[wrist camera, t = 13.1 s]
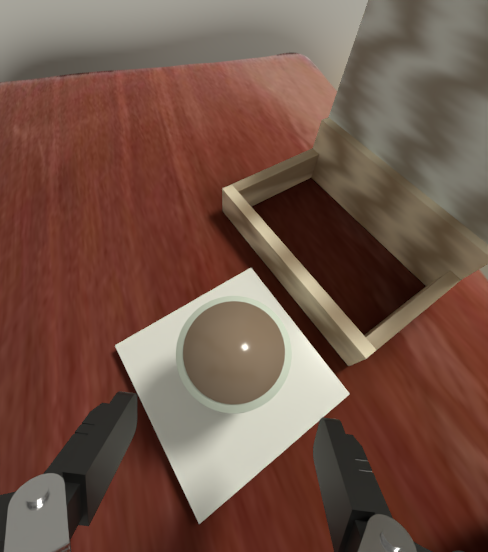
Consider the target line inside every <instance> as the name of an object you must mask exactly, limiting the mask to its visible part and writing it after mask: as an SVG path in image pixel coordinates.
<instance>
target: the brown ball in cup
mask: <svg viewBox="0 0 488 552" xmlns="http://www.w3.org/2000/svg"><path fill="white" fill-rule="evenodd" d="M291 359H292V350H291V343H290V338H289V335H288V332H287V330H286V328H285V326H284V324H283V323H282V321H281V320H280V318H279V317H278V316H277V315H276V314H275V313H274V312H273V311H272V310H271V309H270V308H269V307H267V306H266V305H264V304H263V303H261V302H259V301H257V300H254V299H251V298H248V297H242V296H225V297H220V298H217V299H214V300H211V301H209V302H207V303H205V304H204V305H202V306H201V307H199V308H198V309H197V310H196V311H195V312H193V314H192V315H191V316H190V317H189V318H188V319H187V321H186V322H185V324H184V326H183V328H182V329H181V332H180V334H179V337H178V341H177V346H176V363H177V369H178V372H179V376H180V378H181V380H182V382H183V384H184V386H185V387H186V389H187V390H188V391H189V393H190V394H191V395H192V396H193V397H194V398H195V399H196V400H198V401H199V402H200V403H202V404H203V405H205V406H206V407H208V408H210V409H212V410H215V411H218V412H222V413H228V414H238V413H244V412H248V411H251V410H254V409H256V408H258V407H261V406H262V405H264V404H265V403H267V402H268V401H270V400H271V399H272V398H273V397H274V396H275V395H276V394H277V393H278V392H279V390H280V389H281V388H282V386H283V384H284V383H285V381H286V378H287V376H288V373H289V370H290V366H291Z"/></svg>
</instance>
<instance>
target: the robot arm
mask: <svg viewBox="0 0 488 552" xmlns="http://www.w3.org/2000/svg"><path fill="white" fill-rule="evenodd" d="M136 426H137V394H136V393H128V392H120V391H119V392H117V393H116V395H115V396H114V398H113V399H112V401H111V402H110V403H109V404H107V403H102V404H100V405H99V406H97V407H96V408H95V409H93V410H92V411H91V412H90V413H89V414H88V416H87V417H86V418H85V420H84V421H83V422H82V425H80V426H79V427H78V429H77V430H76V431H75V434H73V435H72V437H71V438H70V439H69V441H68V442H67V443H66V445H65V446H64V447H63V449H62V450H61V451H60V453H59V454H58V455H57V457H56V458H55V459H54V461H53V462H52V463H51V465H50V466H49V467H48V469H47V470H46V471H45V472H44V474H42V475H39V476H37V477H35V478H33V479H31V480H29V481H28V482H26V483H25V484H24V485H22V486H21V487H20V488H19V489H18V490H17V491H16V492H12V493H8V494H3V495H0V552H71V543H70V539H71V537H72V535H73V534H74V532H75V530H76V528H77V526H78V525H84V526H89V525H90V523H91V521H92V519H93V517H94V515H95V513H96V511H97V509H98V507H99V505H100V503H101V501H102V499H103V497H104V495H105V493H106V491H107V489H108V487H109V485H110V483H111V481H112V479H113V477H114V475H115V473H116V471H117V469H118V466H119V464H120V462H121V460H122V458H123V456H124V454H125V452H126V450H127V448H128V446H129V444H130V442H131V440H132V438H133V436H134V433H135V430H136ZM313 458H314V464H315V468H316V473H317V477H318V481H319V486H320V490H321V495H322V499H323V504H324V508H325V513H326V517H327V522H328V526H329V531H330V535H331V540H332V544H333V548H334V552H432V551H430V550H428V549H426V548H424V547H422V546H420V545H418V544H417V543H415V542H414V541H413V540H412V538H411V537H410V535H409V534H408V532H407V531H406V530H405V529H404V528H403V527H402V526H401V525H400V524H399V523H398V522H397V521H395V520H394V519H393V518H392V516H391V513H390V511H389V509H388V506H387V504H386V502H385V499H384V497H383V495H382V492H381V490H380V488H379V485H378V483H377V481H376V478H375V476H374V474H373V473H372V469H371V467H370V464H369V462H368V461H367V457H366V455H365V453H364V450H363V448H362V446H361V445H360V444H359V442H358V441H357V440H356V439H355V438H354V436H353V435H349V434H345V431H344V429H343V426H342V424H341V421H340V420H338V419H330V418H321V419H320V421H319V425H318V429H317V433H316V437H315V441H314V446H313ZM453 552H463V551H453Z"/></svg>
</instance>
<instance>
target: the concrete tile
mask: <svg viewBox="0 0 488 552" xmlns="http://www.w3.org/2000/svg"><path fill="white" fill-rule="evenodd" d="M225 296H242V297H248V298H251V299H254V300H257V301H259V302H261V303H263V304H264V305H266V306H267V307H269V308H270V309H271V310H272V311H273V312H274V313H275V314H276V315H277V316H278V317H279V318H280V320H281V321H282V323H283V324H284V326H285V328H286V330H287V332H288V335H289V338H290V343H291V350H292V359H291V366H290V370H289V373H288V376H287V378H286V381H285V383H284V384H283V386H282V388H281V389H280V390H279V392H278V393H277V394H276V395H275V396H274V397H273V398H272V399H271V400H270V401H268V402H267V403H265V404H264V405H262V406H261V407H258V408H256V409H254V410H251V411H248V412H244V413H238V414H228V413H222V412H218V411H215V410H212V409H210V408H208V407H206V406H205V405H203V404H202V403H200V402H199V401H198V400H196V399H195V398H194V397H193V396H192V395H191V394H190V393H189V391H188V390H187V389H186V387H185V386H184V384H183V382H182V380H181V378H180V376H179V372H178V369H177V363H176V346H177V341H178V337H179V334H180V332H181V329H182V328H183V326H184V324H185V322H186V321H187V319H188V318H189V317H190V316H191V315H192V314H193V312H195V311H196V310H197V309H198V308H199V307H201V306H202V305H204V304H205V303H207V302H209V301H211V300H214V299H217V298H220V297H225ZM115 347H116V349H117V351H118V353H119V355H120V358H121V360H122V362H123V364H124V366H125V368H126V370H127V372H128V375H129V377H130V379H131V381H132V383H133V385H134V387H135V389H136V392H137V394H138V396H139V398H140V400H141V402H142V404H143V406H144V408H145V411H146V413H147V415H148V417H149V419H150V421H151V423H152V425H153V428H154V430H155V432H156V434H157V436H158V438H159V440H160V442H161V445H162V447H163V449H164V451H165V453H166V455H167V457H168V459H169V461H170V464H171V466H172V468H173V470H174V472H175V474H176V476H177V478H178V481H179V483H180V485H181V487H182V489H183V491H184V493H185V495H186V497H187V500H188V502H189V504H190V506H191V508H192V510H193V512H194V514H195V517H196V519H197V521H198V523H199V524H200V523H201V522H203V521H204V520H205V519H206V518H207V517H208V516H209V515H211V514H212V513H213V512H214V511H215V510H216V509H218V508H219V507H220V506H221V505H222V504H223V503H224V502H226V501H227V500H228V499H229V498H230V497H231V496H233V495H234V494H235V493H236V492H237V491H238V490H239V489H241V488H242V487H243V486H244V485H245V484H246V483H248V482H249V481H250V480H251V479H252V478H253V477H254V476H256V475H257V474H258V473H259V472H260V471H261V470H263V469H264V468H265V467H266V466H267V465H268V464H270V463H271V462H272V461H273V460H274V459H275V458H276V457H278V456H279V455H280V454H281V453H282V452H283V451H285V450H286V449H287V448H288V447H289V446H290V445H291V444H293V443H294V442H295V441H296V440H297V439H298V438H300V437H301V436H302V435H303V434H304V433H305V432H306V431H308V430H309V429H310V428H311V427H312V426H313V425H315V424H316V423H317V422H318V421H319V420H320V419H321V418H323V417H324V416H325V415H326V414H327V413H328V412H330V411H331V410H332V409H333V408H334V407H335V406H337V405H338V404H339V403H340V402H341V401H342V400H343V399H345V398H346V397H347V396H348V395H349V392H348V391H347V390H346V388H345V387H344V386H343V385H342V383H341V382H340V381H339V380H338V378H337V377H336V376H335V374H334V373H333V372H332V371H331V369H330V368H329V367H328V365H327V364H326V363H325V362H324V360H323V359H322V358H321V356H320V355H319V354H318V353H317V351H316V350H315V349H314V347H313V346H312V345H311V344H310V342H309V341H308V340H307V338H306V337H305V336H304V335H303V333H302V332H301V331H300V330H299V328H298V327H297V326H296V324H295V323H294V322H293V321H292V319H291V318H290V317H289V315H288V314H287V313H286V312H285V310H284V309H283V308H282V306H281V305H280V304H279V303H278V301H277V300H276V299H275V297H274V296H273V295H272V294H271V292H270V291H269V290H268V288H267V287H266V286H265V285H264V283H263V282H262V281H261V280H260V278H259V277H258V276H257V274H256V273H255V272H254V271H253V269H252V268H249V269H248V270H246V271H244V272H242V273H241V274H239V275H237V276H235V277H234V278H232V279H230V280H228V281H227V282H225V283H223V284H221V285H220V286H218V287H216V288H214V289H213V290H211V291H209V292H207V293H206V294H204V295H202V296H200V297H199V298H197V299H195V300H193V301H192V302H190V303H188V304H186V305H185V306H183V307H181V308H179V309H178V310H176V311H174V312H172V313H171V314H169V315H167V316H165V317H164V318H162V319H160V320H158V321H157V322H155V323H153V324H151V325H150V326H148V327H146V328H144V329H143V330H141V331H139V332H138V333H136V334H134V335H132V336H131V337H129V338H127V339H125V340H124V341H122V342H120V343H118V344H117V345H115Z"/></svg>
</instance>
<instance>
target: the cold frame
mask: <svg viewBox="0 0 488 552" xmlns="http://www.w3.org/2000/svg"><path fill="white" fill-rule="evenodd" d="M309 178H312V179H313V180H314V181H315V182H317V183H318V184H319V185H320V186H321V187H322V188H323V189H324V190H325V191H326V192H327V193H328V194H329V195H330V196H331V197H332V198H333V199H334V200H336V201H337V202H338V203H339V204H340V205H341V206H342V207H343V208H344V209H345V210H346V211H347V212H348V213H349V214H350V215H351V216H352V217H353V218H355V219H356V220H357V221H358V222H359V223H360V224H361V225H362V226H363V227H364V228H365V229H366V230H367V231H368V232H369V233H370V234H371V235H372V236H374V237H375V238H376V239H377V240H378V241H379V242H380V243H381V244H382V245H383V246H384V247H385V248H386V249H387V250H388V251H389V252H390V253H391V254H393V255H394V256H395V257H396V258H397V259H398V260H399V261H400V262H401V263H402V264H403V265H404V266H405V267H406V268H407V269H408V270H409V271H410V272H412V273H413V274H414V275H415V276H416V277H417V278H418V279H419V280H420V281H421V282H422V283H423V284H424V285H425V286H426V287H425V288H423V289H422V290H421V291H420V292H418V293H417V294H416V295H414V296H413V297H412V298H411V299H409V300H408V301H407V302H406V303H404V304H403V305H402V306H401V307H399V308H398V309H397V310H395V311H394V312H393V313H392V314H390V315H389V316H388V317H387V318H385V319H384V320H383V321H382V322H380V323H379V324H378V325H376V326H375V327H374V328H373V329H371V330H370V331H369V332H368V333H366V334H365V335H363V334H362V333H361V332H360V330H359V329H358V328H357V327H356V326H355V325H354V324H353V322H352V321H351V320H350V319H349V318H348V317H347V316H346V314H345V313H344V312H343V311H342V310H341V309H340V308H339V306H338V305H337V304H336V303H335V302H334V301H333V300H332V298H331V297H330V296H329V295H328V294H327V293H326V292H325V290H324V289H323V288H322V287H321V286H320V285H319V284H318V282H317V281H316V280H315V279H314V278H313V277H312V276H311V274H310V273H309V272H308V271H307V270H306V269H305V268H304V266H303V265H302V264H301V263H300V262H299V261H298V260H297V258H296V257H295V256H294V255H293V254H292V253H291V252H290V250H289V249H288V248H287V247H286V246H285V245H284V244H283V242H282V241H281V240H280V239H279V238H278V237H277V236H276V234H275V233H274V232H273V231H272V230H271V229H270V228H269V226H268V225H267V224H266V223H265V222H264V221H263V220H262V218H261V217H260V216H259V215H258V214H257V213H256V212H255V210H254V209H253V208H252V206H254V205H256V204H258V203H260V202H262V201H264V200H266V199H268V198H270V197H272V196H274V195H276V194H278V193H280V192H282V191H284V190H287V189H289V188H291V187H293V186H295V185H297V184H299V183H301V182H303V181H305V180H307V179H309ZM222 207H223V212H224V214H225V215H226V216H227V217H228V218H229V220H230V221H231V222H232V223H233V225H234V226H235V227H236V228H237V230H238V231H239V232H240V233H241V234H242V236H243V237H244V238H245V239H246V241H247V242H248V243H249V244H250V246H251V247H252V248H253V249H254V251H255V252H256V253H257V254H258V255H259V257H260V258H261V259H262V260H263V262H264V263H265V264H266V265H267V267H268V268H269V269H270V270H271V272H272V273H273V274H274V275H275V276H276V278H277V279H278V280H279V281H280V283H281V284H282V285H283V286H284V288H285V289H286V290H287V291H288V292H289V294H290V295H291V296H292V297H293V299H294V300H295V301H296V302H297V304H298V305H299V306H300V307H301V309H302V310H303V311H304V312H305V313H306V315H307V316H308V317H309V318H310V320H311V321H312V322H313V323H314V325H315V326H316V327H317V328H318V330H319V331H320V332H321V333H322V334H323V336H324V337H325V338H326V339H327V341H328V342H329V343H330V344H331V346H332V347H333V348H334V349H335V350H336V352H337V353H338V354H339V355H340V357H341V358H342V359H343V360H344V362H345V363H346V364H347V365H348V366H350V365H353V364H355V363H357V362H360V361H362V360H364V359H366V358H368V357H369V356H370V355H371V354H372V353H374V352H375V351H376V350H377V349H378V348H380V347H381V346H382V345H383V344H384V343H386V342H387V341H388V340H389V339H391V338H392V337H393V336H394V335H395V334H397V333H398V332H399V331H400V330H401V329H403V328H404V327H405V326H406V325H407V324H409V323H410V322H411V321H412V320H413V319H415V318H416V317H417V316H418V315H419V314H421V313H422V312H423V311H424V310H425V309H427V308H428V307H429V306H430V305H431V304H433V303H434V302H435V301H436V300H437V299H439V298H440V297H441V296H442V295H443V294H445V293H446V292H447V291H448V290H449V289H451V288H452V287H453V286H454V285H456V284H457V283H458V282H459V281H460V280H462V279H463V278H465V277H467V276H468V275H470V274H472V273H473V272H475V271H477V270H479V269H480V268H482V267H484V266H485V265H487V264H488V0H368V3H367V6H366V9H365V12H364V15H363V18H362V21H361V24H360V27H359V30H358V33H357V35H356V38H355V41H354V44H353V47H352V50H351V53H350V56H349V59H348V62H347V65H346V68H345V71H344V74H343V76H342V80H341V82H340V86H339V88H338V91H337V94H336V97H335V100H334V103H333V106H332V109H331V112H330V115H329V117H328V118H326V119H323V120H322V121H321V124H320V127H319V131H318V134H317V137H316V140H315V143H314V146H313V148H312V149H310V150H308V151H306V152H303V153H301V154H299V155H297V156H295V157H292V158H290V159H288V160H286V161H283V162H281V163H279V164H277V165H274V166H272V167H270V168H268V169H265V170H263V171H261V172H259V173H256V174H254V175H252V176H250V177H247V178H245V179H243V180H241V181H238V182H236V183H234V184H232V185H229V186H227V187H225V188H223V189H222Z"/></svg>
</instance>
